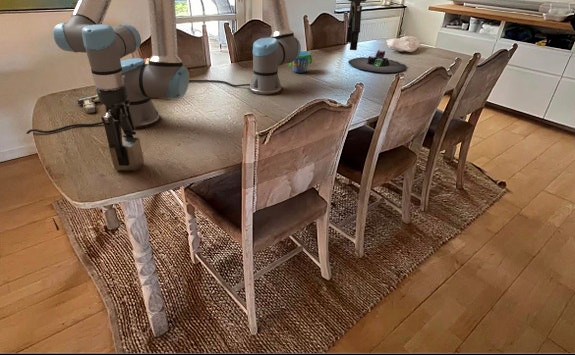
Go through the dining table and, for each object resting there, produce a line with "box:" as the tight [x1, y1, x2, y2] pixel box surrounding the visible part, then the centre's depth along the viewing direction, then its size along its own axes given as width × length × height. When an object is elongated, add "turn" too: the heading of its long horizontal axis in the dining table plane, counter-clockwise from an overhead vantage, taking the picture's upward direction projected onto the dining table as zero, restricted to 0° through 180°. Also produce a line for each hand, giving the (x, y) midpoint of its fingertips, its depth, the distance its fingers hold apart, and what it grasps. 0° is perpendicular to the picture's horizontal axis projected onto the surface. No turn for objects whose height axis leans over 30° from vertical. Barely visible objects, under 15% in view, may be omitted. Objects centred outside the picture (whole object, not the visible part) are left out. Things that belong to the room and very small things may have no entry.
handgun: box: [76, 94, 100, 114], centre depth 155 cm, size 3×18×15 cm
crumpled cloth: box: [385, 35, 422, 53], centre depth 256 cm, size 24×35×9 cm
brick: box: [108, 136, 145, 172], centre depth 111 cm, size 6×7×8 cm
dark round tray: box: [347, 49, 407, 74], centre depth 221 cm, size 35×35×9 cm
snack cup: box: [288, 50, 313, 74], centre depth 203 cm, size 16×10×10 cm
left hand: (128, 159), depth 112 cm, fingers closed on brick, 6 cm apart
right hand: (351, 46), depth 154 cm, fingers open, 13 cm apart
